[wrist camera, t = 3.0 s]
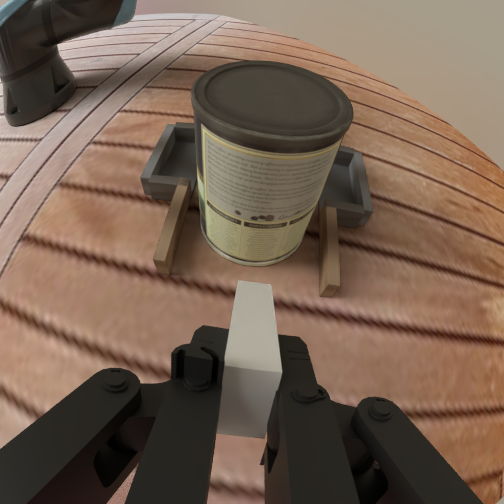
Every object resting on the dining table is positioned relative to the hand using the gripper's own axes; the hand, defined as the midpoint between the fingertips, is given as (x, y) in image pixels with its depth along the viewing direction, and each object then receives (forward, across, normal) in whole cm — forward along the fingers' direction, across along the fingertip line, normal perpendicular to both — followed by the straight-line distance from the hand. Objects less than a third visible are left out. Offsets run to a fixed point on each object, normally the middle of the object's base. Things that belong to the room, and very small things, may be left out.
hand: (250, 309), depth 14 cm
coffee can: (+16, 0, +2) cm, 16 cm away
